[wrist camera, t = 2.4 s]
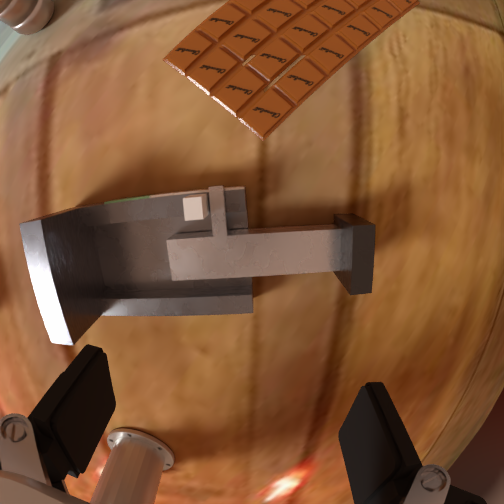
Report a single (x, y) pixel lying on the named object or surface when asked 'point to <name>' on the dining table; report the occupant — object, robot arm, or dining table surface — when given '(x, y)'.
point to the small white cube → (195, 207)
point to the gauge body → (125, 262)
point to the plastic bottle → (26, 14)
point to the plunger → (275, 250)
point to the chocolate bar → (277, 51)
